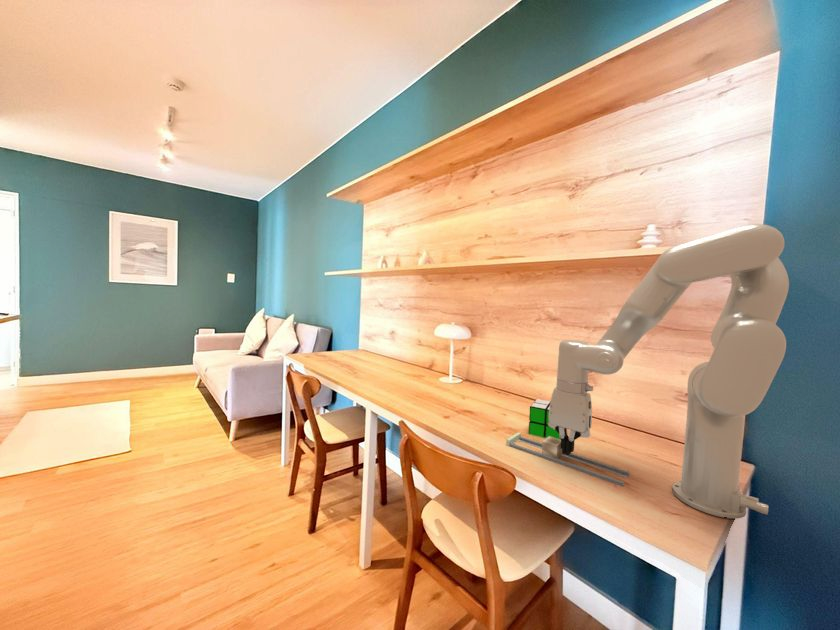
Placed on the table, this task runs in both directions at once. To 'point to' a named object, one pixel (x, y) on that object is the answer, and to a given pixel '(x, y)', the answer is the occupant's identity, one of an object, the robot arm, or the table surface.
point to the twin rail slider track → (517, 437)
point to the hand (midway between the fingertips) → (566, 452)
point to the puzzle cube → (541, 420)
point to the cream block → (552, 447)
